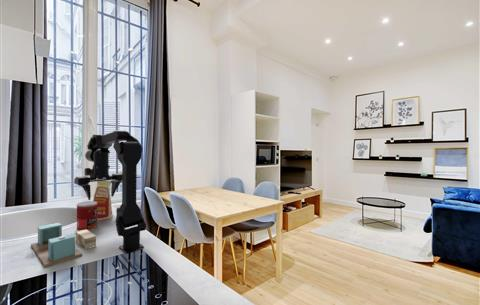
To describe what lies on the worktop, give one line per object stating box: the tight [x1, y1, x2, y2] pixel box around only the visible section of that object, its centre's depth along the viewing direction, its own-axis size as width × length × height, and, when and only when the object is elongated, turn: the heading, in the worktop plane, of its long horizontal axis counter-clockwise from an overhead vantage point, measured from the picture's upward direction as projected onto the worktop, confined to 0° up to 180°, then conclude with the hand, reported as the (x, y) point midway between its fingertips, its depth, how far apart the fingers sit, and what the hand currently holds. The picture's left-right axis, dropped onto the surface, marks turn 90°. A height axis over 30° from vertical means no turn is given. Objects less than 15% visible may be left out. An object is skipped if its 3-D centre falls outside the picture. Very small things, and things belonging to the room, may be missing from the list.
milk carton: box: [92, 180, 113, 221], centre depth 118 cm, size 9×9×20 cm
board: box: [30, 241, 83, 268], centre depth 82 cm, size 21×10×1 cm, turn 51°
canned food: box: [76, 200, 98, 231], centre depth 104 cm, size 8×8×11 cm
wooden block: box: [75, 229, 97, 250], centre depth 88 cm, size 10×4×4 cm, turn 52°
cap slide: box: [48, 233, 76, 261], centre depth 77 cm, size 4×6×6 cm, turn 141°
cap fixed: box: [37, 222, 63, 246], centre depth 87 cm, size 4×6×6 cm, turn 141°
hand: (101, 198), depth 102 cm, fingers open, 9 cm apart
